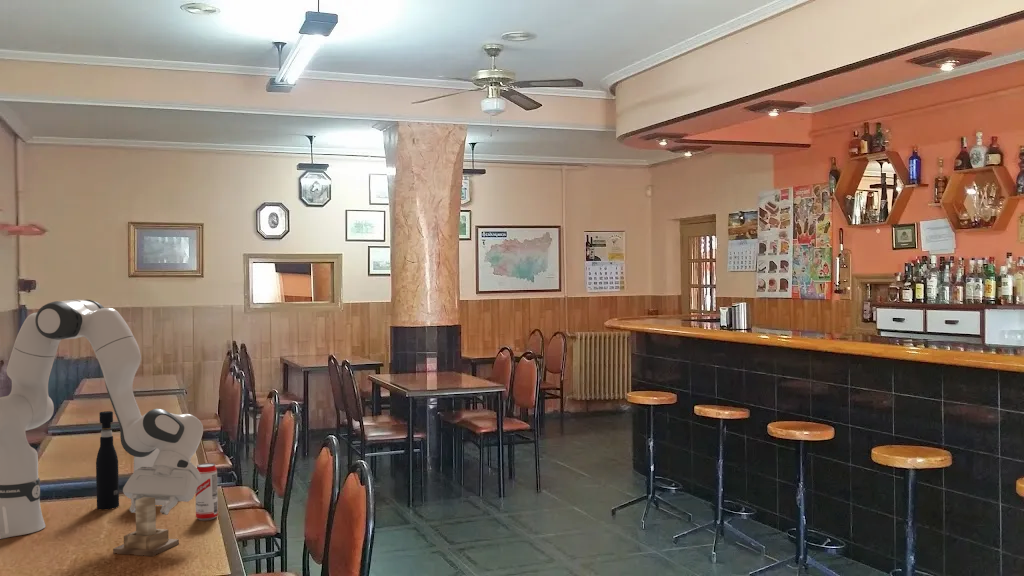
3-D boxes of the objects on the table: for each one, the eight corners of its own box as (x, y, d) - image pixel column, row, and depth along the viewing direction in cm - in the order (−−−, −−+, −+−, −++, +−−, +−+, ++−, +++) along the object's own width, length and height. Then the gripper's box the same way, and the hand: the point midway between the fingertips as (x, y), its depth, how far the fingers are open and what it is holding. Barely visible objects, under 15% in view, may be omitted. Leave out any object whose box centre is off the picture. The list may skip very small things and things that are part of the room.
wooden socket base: (113, 553, 237) (112, 537, 237) (140, 541, 248) (139, 525, 248) (153, 556, 234) (153, 540, 234) (178, 543, 245) (178, 528, 245)
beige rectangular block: (136, 545, 240) (135, 500, 240) (144, 541, 243) (143, 497, 243) (147, 546, 239) (147, 500, 239) (156, 542, 242) (155, 497, 242)
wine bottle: (98, 505, 287) (96, 411, 287) (120, 503, 289) (118, 410, 289) (95, 510, 281) (93, 414, 281) (117, 508, 283) (116, 413, 283)
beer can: (211, 521, 267) (210, 467, 267) (191, 520, 268) (190, 466, 268) (222, 515, 273) (221, 463, 273) (203, 515, 274) (202, 462, 274)
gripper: (131, 460, 252) (108, 504, 242) (197, 463, 247) (175, 508, 237) (142, 472, 256) (120, 516, 247) (206, 476, 251) (186, 520, 242)
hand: (148, 512), depth 242 cm, fingers open, 8 cm apart
